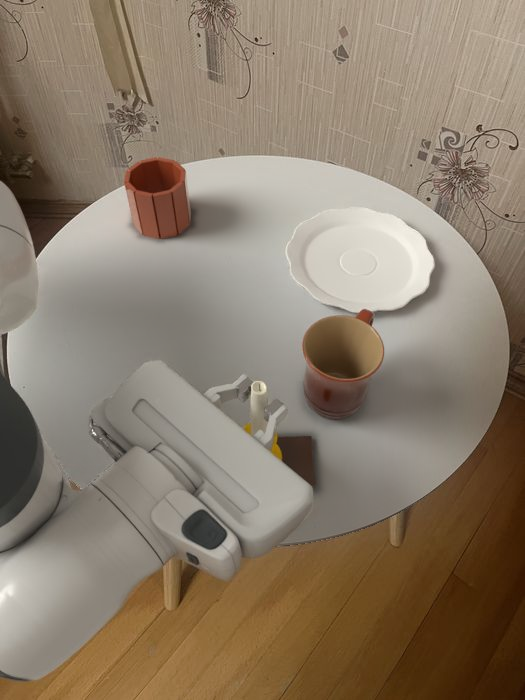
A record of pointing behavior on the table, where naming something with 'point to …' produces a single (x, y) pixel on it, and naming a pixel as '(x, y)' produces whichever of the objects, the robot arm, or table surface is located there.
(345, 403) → the mug
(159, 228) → the holder cup
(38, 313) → the table surface
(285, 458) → the walnut mat
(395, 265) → the plate
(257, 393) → the candle
